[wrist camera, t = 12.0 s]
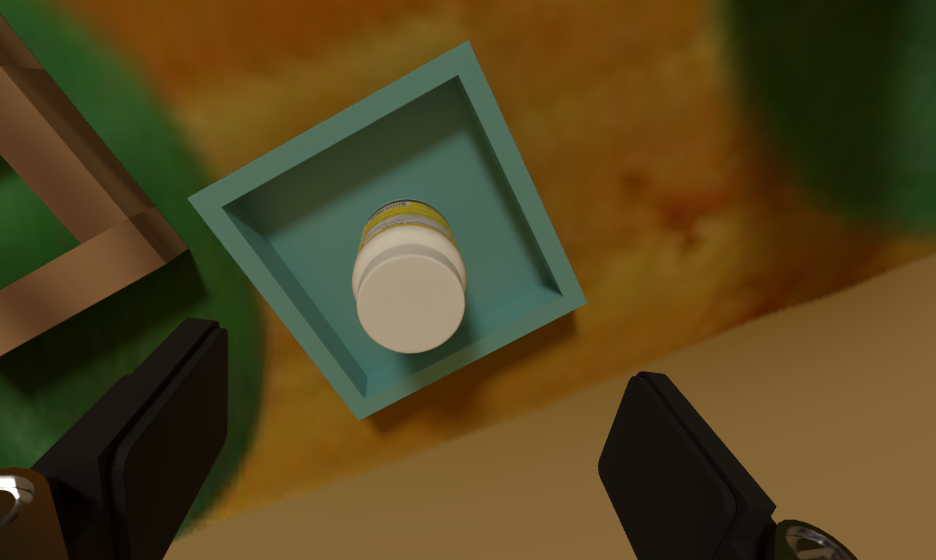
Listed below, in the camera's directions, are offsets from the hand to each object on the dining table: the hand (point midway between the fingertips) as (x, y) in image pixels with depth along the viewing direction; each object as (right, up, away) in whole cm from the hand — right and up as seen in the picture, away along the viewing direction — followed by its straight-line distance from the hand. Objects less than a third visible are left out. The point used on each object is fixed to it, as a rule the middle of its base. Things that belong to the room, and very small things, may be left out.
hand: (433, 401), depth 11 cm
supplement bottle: (-2, +5, +14) cm, 15 cm away
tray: (-3, +5, +15) cm, 16 cm away
